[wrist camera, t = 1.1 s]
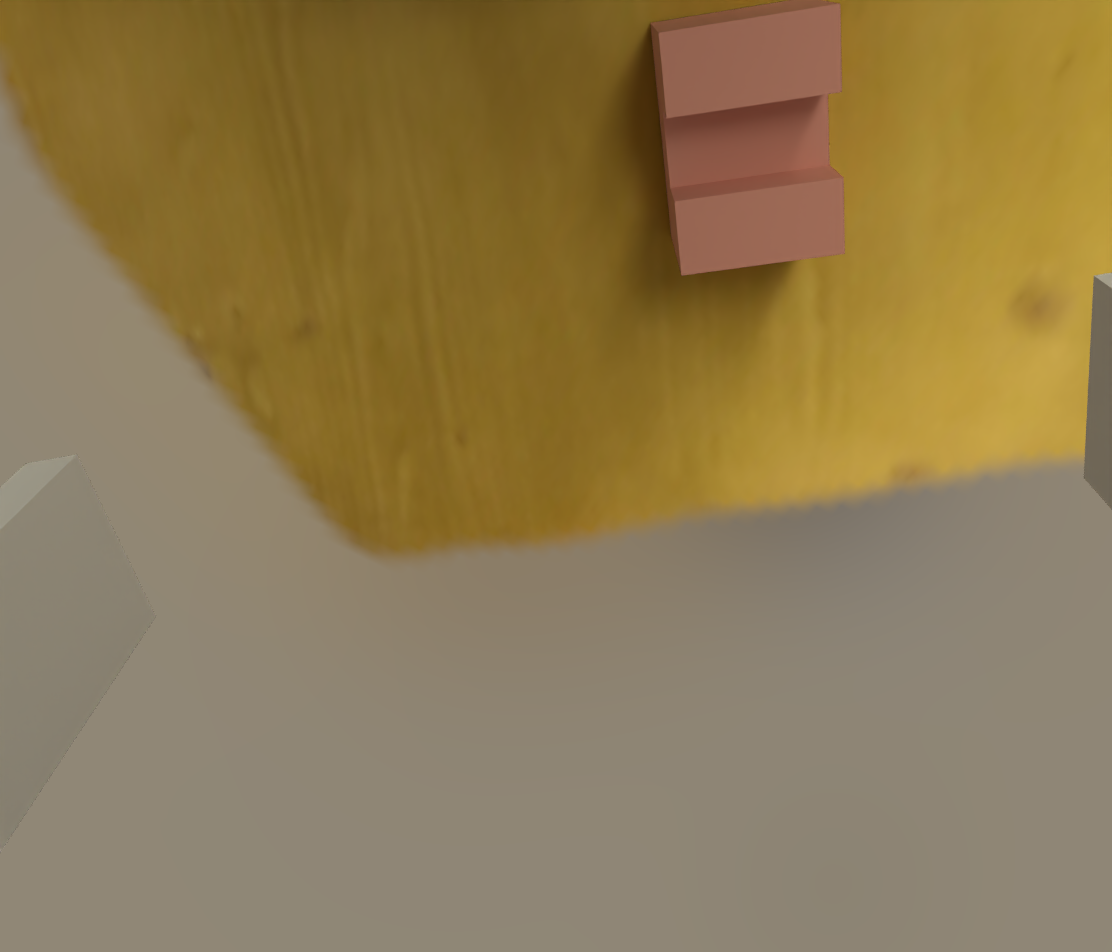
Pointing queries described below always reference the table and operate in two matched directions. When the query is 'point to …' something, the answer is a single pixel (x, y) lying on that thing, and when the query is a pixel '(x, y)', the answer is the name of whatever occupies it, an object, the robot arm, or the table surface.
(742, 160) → the v block
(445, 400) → the table surface
